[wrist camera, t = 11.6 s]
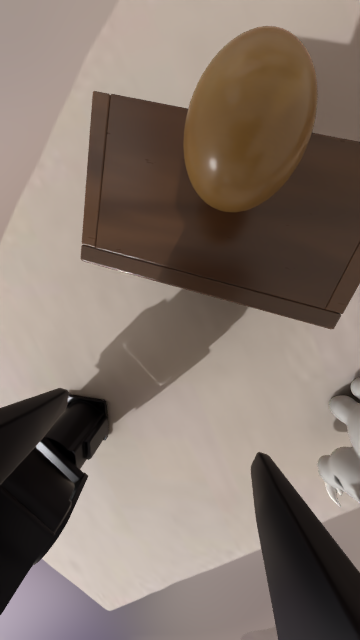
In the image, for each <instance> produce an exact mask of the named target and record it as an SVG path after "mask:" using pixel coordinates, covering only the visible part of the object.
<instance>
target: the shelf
mask: <svg viewBox="0 0 360 640" xmlns="http://www.w3.org/2000/svg"><path fill="white" fill-rule="evenodd" d="M317 97H318V93H317V80H316V73H315V69H314V66H313V63H312V60H311V57H310V55H309V53H308V51H307V49H306V48H305V46H304V45H303V44H302V42H301V41H300V40H299V39H298V38H297V37H296V36H295V35H293V34H292V33H291V32H289V31H287V30H285V29H283V28H279V27H274V26H263V27H257V28H254V29H251V30H249V31H246V32H244V33H242V34H240V35H239V36H237V37H236V38H234V39H233V40H231V41H230V42H229V43H228V44H227V45H225V46H224V47H223V48H222V49H221V50H220V51H219V52H218V53H217V55H216V56H215V57H214V58H213V59H212V61H211V62H210V64H209V65H208V66H207V68H206V70H205V71H204V73H203V74H202V76H201V78H200V80H199V82H198V84H197V86H196V88H195V91H194V93H193V96H192V99H191V101H190V105H189V109H187V108H182V107H177V106H172V105H166V104H161V103H156V102H151V101H146V100H141V99H135V98H130V97H125V96H120V95H115V94H111V95H110V94H107V93H102V92H97V91H94V92H93V99H92V113H91V126H90V139H89V153H88V166H87V180H86V193H85V207H84V220H83V233H82V244H83V245H82V248H81V260H82V261H85V262H88V263H92V264H96V265H99V266H103V267H107V268H110V269H114V270H118V271H121V272H125V273H128V274H132V275H136V276H139V277H143V278H147V279H150V280H154V281H158V282H161V283H165V284H168V285H172V286H176V287H179V288H183V289H187V290H190V291H194V292H198V293H201V294H205V295H208V296H212V297H216V298H219V299H223V300H227V301H230V302H234V303H237V304H241V305H245V306H248V307H252V308H256V309H259V310H263V311H267V312H270V313H274V314H277V315H281V316H285V317H288V318H292V319H296V320H299V321H303V322H307V323H310V324H314V325H317V326H321V327H325V328H328V329H334V327H335V326H336V324H337V322H338V320H339V318H340V317H341V314H343V312H344V311H345V309H346V307H347V305H348V303H349V302H350V300H351V298H352V296H353V294H354V293H355V291H356V289H357V287H358V285H359V284H360V142H357V141H352V140H347V139H341V138H336V137H331V136H326V135H321V134H316V133H312V130H313V127H314V122H315V117H316V110H317Z"/></svg>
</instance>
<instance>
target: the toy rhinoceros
mask: <svg viewBox="0 0 360 640" xmlns="http://www.w3.org/2000/svg"><path fill="white" fill-rule="evenodd" d="M351 391H352V393H353V394H354V395H355V396H356V397H357V398H358V399H360V377H358V378H356V379H355V380H353V381H352V383H351ZM329 409H330V411H331V412H332V414H333V415H334V416H335V417H336V418H338V419H339V420H340V421H342V422H343V423H345V424H346V425H347V430H348V435H349V438H350V441H351V443H352V447H340V448H337V449H336V450H334V451H333V452H332V454H331V455H325V456H322V457H320V458H319V460H318V463H317V466H318V472H319V475H320V477H321V478H322V479H323V480H324V482H325V486H326V490H327V492H328V494H329V496H330V497H331V498H332V500H333V501H334V502H335V503H336V504H337V505H339V506H340V507H341V505H340V503H339V501H338V499H337V491H338V492H339V494H340V495H342V493H343V492H346V493H347V494H348V495H350V496H351V497H352V498H353V499H355V500H356V501H357V502H359V503H360V403H357V402H356V401H355V400H354V399H352V398H351V397H349V396H344V395H341V396H336V397H333V398H332V399H331V400H330V402H329Z"/></svg>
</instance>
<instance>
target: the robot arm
mask: <svg viewBox="0 0 360 640" xmlns="http://www.w3.org/2000/svg"><path fill="white" fill-rule="evenodd" d="M107 437H108V416H107V403H106V401H104V400H100V399H94V398H87V397H81V396H75V395H69V392H68V390H65V389H62V388H58V389H55V390H52V391H49V392H46V393H43V394H40V395H37V396H34V397H32V398H29V399H26V400H23V401H20V402H17V403H14V404H11V405H8V406H5V407H2V408H0V615H1V614H2V612H3V611H4V609H5V607H6V606H7V604H8V603H9V601H10V600H11V598H12V596H13V595H14V593H15V592H16V590H17V588H18V587H19V585H20V584H21V582H22V581H23V579H24V577H25V576H26V574H27V573H28V571H29V570H30V568H31V567H32V566H33V565H35V564H36V563H37V562H39V561H40V560H41V559H42V558H43V556H44V555H45V554H46V553H47V552H48V551H49V549H50V548H51V547H52V545H53V544H54V543H55V541H56V540H57V538H58V537H59V535H60V534H61V532H62V530H63V529H64V527H65V525H66V524H67V522H68V520H69V518H70V516H71V513H72V511H73V509H74V507H75V504H76V502H77V500H78V498H79V496H80V493H81V491H82V489H83V487H84V484H85V482H86V480H87V478H88V475H87V474H86V473H83V472H82V471H81V470H80V469H81V467H82V466H83V464H84V462H85V461H86V459H88V460H89V459H91V458H92V456H93V455H94V453H95V451H96V450H97V448H98V447H99V445H100V444H101V442H102V440H106V439H107ZM251 478H252V487H253V496H254V506H255V514H256V522H257V527H258V533H259V538H260V544H261V549H262V554H263V560H264V565H265V570H266V576H267V581H268V586H269V592H270V597H271V602H272V608H273V613H274V619H275V624H276V629H277V635H278V640H360V573H359V571H358V570H357V569H356V567H355V566H354V565H353V563H352V562H351V561H350V560H349V558H348V557H347V556H346V554H345V553H344V552H343V550H342V549H341V548H340V547H339V545H338V544H337V543H336V542H335V540H334V539H333V538H332V536H331V535H330V534H329V532H328V531H327V530H326V529H325V527H324V526H323V525H322V523H321V522H320V521H319V520H318V518H317V517H316V516H315V514H314V513H313V512H312V511H311V509H310V508H309V507H308V505H307V504H306V503H305V501H304V500H303V499H302V498H301V496H300V495H299V494H298V492H297V491H296V490H295V489H294V487H293V486H292V485H291V483H290V482H289V481H288V480H287V478H286V477H285V476H284V474H283V473H282V472H281V471H280V469H279V468H278V467H277V465H276V464H275V463H274V462H273V460H272V459H271V458H270V456H268V455H267V454H264V453H261V452H258V453H257V455H256V457H255V459H254V461H253V463H252V465H251Z"/></svg>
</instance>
